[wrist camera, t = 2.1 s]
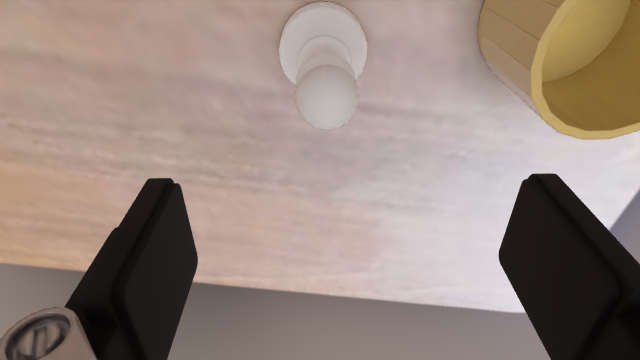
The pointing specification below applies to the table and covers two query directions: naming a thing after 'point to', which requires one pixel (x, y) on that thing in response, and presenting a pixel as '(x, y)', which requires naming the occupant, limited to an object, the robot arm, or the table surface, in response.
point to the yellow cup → (568, 61)
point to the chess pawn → (324, 62)
